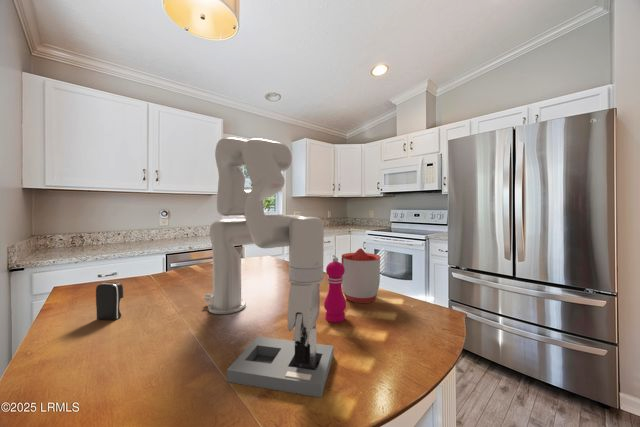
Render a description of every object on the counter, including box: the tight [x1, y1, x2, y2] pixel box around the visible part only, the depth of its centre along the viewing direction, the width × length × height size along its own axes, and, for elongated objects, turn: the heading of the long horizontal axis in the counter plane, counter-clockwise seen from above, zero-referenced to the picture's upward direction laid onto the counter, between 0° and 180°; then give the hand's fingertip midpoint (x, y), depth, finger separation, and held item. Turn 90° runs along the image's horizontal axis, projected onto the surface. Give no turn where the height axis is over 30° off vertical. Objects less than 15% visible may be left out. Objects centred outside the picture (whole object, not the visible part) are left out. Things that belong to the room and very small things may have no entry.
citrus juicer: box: [341, 248, 382, 304], centre depth 101 cm, size 16×17×20 cm
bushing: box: [295, 326, 317, 370], centre depth 56 cm, size 5×5×8 cm
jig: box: [226, 336, 335, 399], centre depth 57 cm, size 20×14×3 cm
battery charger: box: [95, 281, 124, 321], centre depth 83 cm, size 7×4×11 cm, turn 84°
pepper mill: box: [323, 256, 347, 323], centre depth 83 cm, size 7×7×20 cm
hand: (305, 354), depth 56 cm, fingers closed on bushing, 4 cm apart
